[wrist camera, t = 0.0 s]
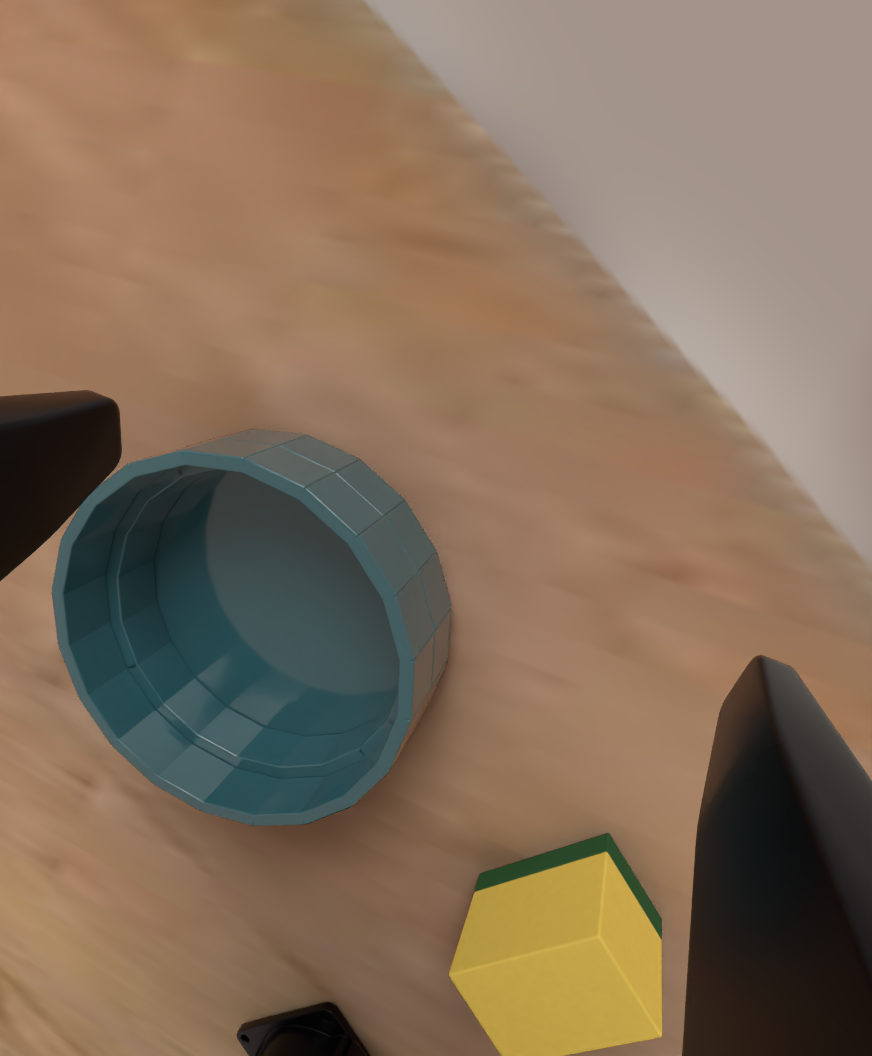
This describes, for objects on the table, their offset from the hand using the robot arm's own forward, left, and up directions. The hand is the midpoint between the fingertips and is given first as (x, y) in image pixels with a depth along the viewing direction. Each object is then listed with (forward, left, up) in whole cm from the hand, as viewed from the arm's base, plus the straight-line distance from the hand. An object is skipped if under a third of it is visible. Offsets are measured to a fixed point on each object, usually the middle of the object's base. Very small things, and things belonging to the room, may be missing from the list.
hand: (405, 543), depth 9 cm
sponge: (-9, -17, -15) cm, 25 cm away
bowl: (-13, -1, -15) cm, 20 cm away
